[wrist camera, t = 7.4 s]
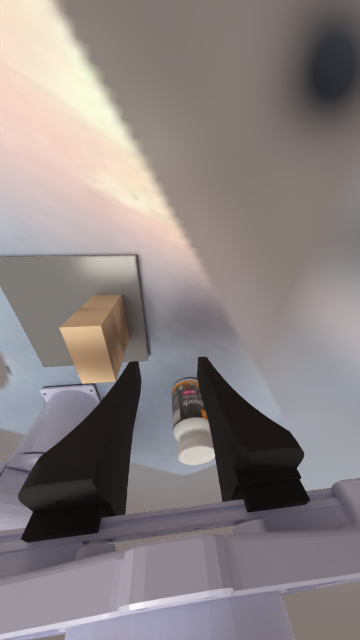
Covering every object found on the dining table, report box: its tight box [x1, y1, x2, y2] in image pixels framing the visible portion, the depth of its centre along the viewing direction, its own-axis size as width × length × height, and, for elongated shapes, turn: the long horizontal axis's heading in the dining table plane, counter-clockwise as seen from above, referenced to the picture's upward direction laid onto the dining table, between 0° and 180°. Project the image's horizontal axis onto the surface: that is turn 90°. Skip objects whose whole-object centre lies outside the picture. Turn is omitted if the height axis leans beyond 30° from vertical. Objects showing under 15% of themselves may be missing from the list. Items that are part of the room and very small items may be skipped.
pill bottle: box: [172, 378, 215, 465], centre depth 25 cm, size 6×6×10 cm
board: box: [0, 255, 149, 367], centre depth 20 cm, size 14×14×1 cm
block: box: [59, 294, 129, 384], centre depth 17 cm, size 6×3×7 cm, turn 0°
